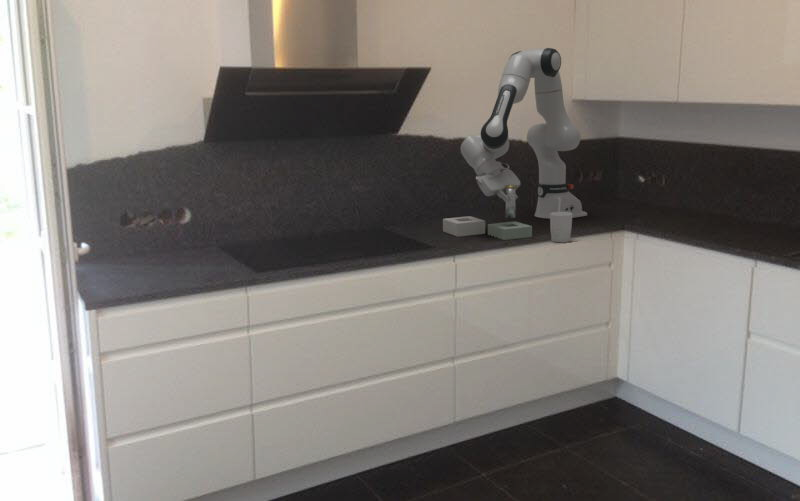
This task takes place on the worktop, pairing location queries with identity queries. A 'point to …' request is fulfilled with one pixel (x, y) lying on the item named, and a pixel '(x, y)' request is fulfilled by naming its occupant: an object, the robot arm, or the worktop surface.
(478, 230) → the grey block with hole
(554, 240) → the white cup
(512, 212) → the silver gold-banded cylinder
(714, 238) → the worktop surface
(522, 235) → the socket block
